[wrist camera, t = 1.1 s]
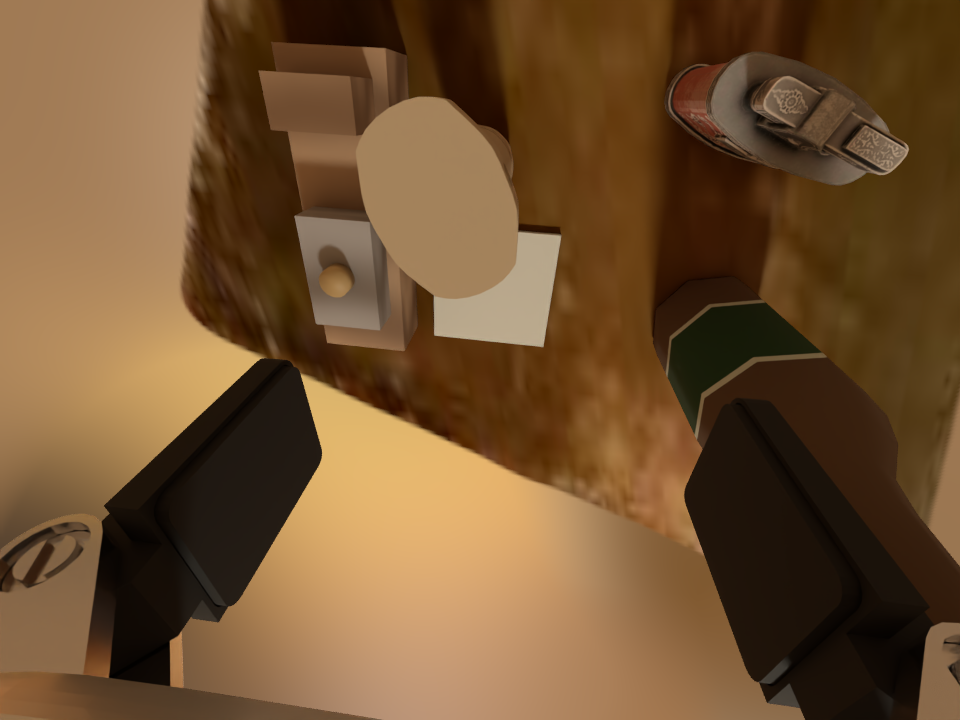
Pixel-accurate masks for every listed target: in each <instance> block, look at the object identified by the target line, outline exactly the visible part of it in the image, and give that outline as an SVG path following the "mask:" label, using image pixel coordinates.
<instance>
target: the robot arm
mask: <svg viewBox="0 0 960 720" xmlns="http://www.w3.org/2000/svg"><path fill="white" fill-rule="evenodd" d="M321 458H322V449H321V445H320V442H319V439H318V435H317V431H316V428H315V424H314V421H313V417H312V413H311V410H310V406H309V403H308V399H307V396H306V392H305V389H304V385H303V382H302V378H301V374H300V372H299V370H298V369H297V368H296V367H293V365H292V363H291V362H290V361H288V360H279V359H267V358H264V359H260V360H259V361H257V362H256V363H255V364H254V365H253V366H252V367H251V368H250V369H249V370H248V371H247V372H246V373H244V375H242V376H241V377H240V378H239V379H238V380H237V381H236V382H235V383H234V384H233V385H232V386H231V387H230V388H229V389H228V390H227V391H225V392H224V393H223V394H222V395H221V396H220V397H219V398H218V399H217V400H216V401H215V402H214V403H213V404H212V405H211V406H209V407H208V408H207V409H206V410H205V411H204V412H203V413H202V414H201V415H200V416H199V417H198V418H197V419H196V420H194V422H192V423H191V424H190V425H189V426H188V427H187V428H186V429H185V430H184V431H183V432H182V433H181V434H180V435H179V436H177V437H176V438H175V439H174V440H173V441H172V442H171V443H170V444H169V445H168V446H167V447H166V448H165V449H164V450H163V451H162V452H161V453H159V454H158V455H157V456H156V457H155V458H154V459H153V460H152V461H151V462H150V463H149V464H148V465H147V466H146V467H145V468H144V469H142V470H141V471H140V472H139V473H138V474H137V475H136V476H135V477H134V478H133V479H132V480H131V481H130V482H129V483H127V484H126V485H125V486H124V487H123V488H122V489H121V490H120V491H119V492H118V493H117V494H116V495H115V496H114V497H113V498H112V499H110V500H109V501H108V502H107V503H106V504H105V505H104V507H105V508H106V509H107V510H108V512H109V513H110V514H109V515H108V516H107V517H106V518H105V519H104V520H103V521H102V522H101V521H100V520H98V518H96V517H95V516H92V515H88V514H73V515H67V516H63V517H59V518H56V519H52V520H50V521H47V522H45V523H43V524H41V525H38V526H36V527H34V528H32V529H31V530H29V531H27V532H25V533H23V534H22V535H20V536H19V537H17V538H15V539H14V540H12V541H11V542H10V543H9V544H7V545H6V546H5V547H3V548H2V549H1V550H0V720H379V719H373V718H367V717H361V716H355V715H349V714H343V713H337V712H330V711H324V710H318V709H312V708H305V707H299V706H292V705H286V704H280V703H273V702H267V701H261V700H255V699H249V698H242V697H236V696H230V695H223V694H217V693H211V692H205V691H198V690H192V689H185V688H184V686H183V685H184V684H183V658H182V629H183V628H184V626H185V625H186V623H187V622H188V620H189V619H190V617H192V618H193V619H200V620H206V621H213V622H219V621H220V619H221V618H222V615H223V614H224V613H225V611H226V609H227V607H228V606H232V605H234V604H235V603H236V602H237V601H238V600H239V599H240V597H241V596H242V594H243V592H244V591H245V589H246V587H247V586H248V584H249V582H250V581H251V579H252V577H253V575H254V574H255V572H256V570H257V569H258V567H259V565H260V564H261V562H262V560H263V559H264V557H265V555H266V553H267V552H268V550H269V549H270V547H271V545H272V544H273V542H274V540H275V538H276V537H277V535H278V533H279V532H280V530H281V528H282V527H283V525H284V523H285V522H286V520H287V518H288V517H289V515H290V513H291V511H292V510H293V508H294V507H295V505H296V503H297V501H298V500H299V498H300V496H301V495H302V493H303V491H304V490H305V488H306V486H307V485H308V483H309V481H310V480H311V478H312V476H313V475H314V473H315V471H316V469H317V468H318V466H319V464H320V461H321ZM684 498H685V503H686V507H687V509H688V512H689V515H690V517H691V520H692V523H693V526H694V528H695V531H696V534H697V536H698V539H699V542H700V545H701V547H702V550H703V553H704V556H705V558H706V561H707V564H708V566H709V569H710V572H711V575H712V577H713V580H714V583H715V585H716V588H717V591H718V594H719V596H720V599H721V602H722V604H723V607H724V610H725V613H726V615H727V618H728V620H729V623H730V626H731V629H732V632H733V634H734V637H735V640H736V643H737V645H738V648H739V651H740V653H741V656H742V659H743V662H744V664H745V667H746V669H747V671H748V673H749V675H750V676H751V678H752V679H753V680H754V681H756V682H759V683H760V686H761V688H762V691H763V693H764V696H765V699H766V701H767V703H770V704H777V705H784V706H791V707H797V708H800V709H801V711H802V713H803V716H804V718H805V720H960V623H944V622H942V623H940V624H937V625H934V624H933V622H932V621H931V620H930V618H929V617H928V616H927V614H926V613H925V611H926V610H927V609H928V608H930V606H929V605H928V603H927V602H926V601H925V600H924V598H923V597H922V596H921V594H920V593H919V592H918V591H917V589H916V588H915V587H914V585H913V584H912V583H911V582H910V580H909V579H908V578H907V576H906V575H905V574H904V572H903V571H902V570H901V569H900V567H899V566H898V565H897V563H896V562H895V561H894V560H893V558H892V557H891V556H890V554H889V553H888V552H887V551H886V549H885V548H884V547H883V545H882V544H881V543H880V541H879V540H878V539H877V538H876V536H875V535H874V534H873V532H872V531H871V530H870V529H869V527H868V526H867V525H866V523H865V522H864V521H863V520H862V518H861V517H860V516H859V514H858V513H857V512H856V511H855V509H854V508H853V507H852V505H851V504H850V503H849V501H848V500H847V499H846V498H845V496H844V495H843V494H842V492H841V491H840V490H839V489H838V487H837V486H836V485H835V483H834V482H833V481H832V480H831V478H830V477H829V476H828V474H827V473H826V472H825V470H824V469H823V468H822V467H821V465H820V464H819V463H818V461H817V460H816V459H815V458H814V456H813V455H812V454H811V452H810V451H809V450H808V449H807V447H806V446H805V445H804V443H803V442H802V441H801V440H800V438H799V437H798V436H797V434H796V433H795V432H794V430H793V429H792V428H791V427H790V425H789V424H788V423H787V421H786V420H785V419H784V418H783V416H782V415H781V414H780V412H779V411H778V410H777V409H776V407H775V406H774V405H773V404H772V403H771V402H770V401H768V400H761V399H749V398H735V399H734V400H733V401H732V402H731V403H730V404H725V405H724V406H723V407H722V408H721V410H720V412H719V415H718V417H717V419H716V421H715V424H714V426H713V428H712V430H711V432H710V435H709V437H708V439H707V441H706V443H705V446H704V448H703V450H702V452H701V454H700V457H699V459H698V461H697V463H696V465H695V468H694V470H693V472H692V474H691V476H690V479H689V481H688V483H687V485H686V488H685V493H684Z"/></svg>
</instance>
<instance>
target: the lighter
mask: <svg viewBox="0 0 960 720" xmlns="http://www.w3.org/2000/svg"><path fill="white" fill-rule="evenodd" d="M665 109H666V111H667V113H668V114H669V116H670V117H672V118H673V119H674V120H675V121H676V122H677V123H678V124H679V125H680V126H681V127H682V128H683V129H685V130H686V131H687V132H688V133H689V134H691V135H692V136H694V137H695V138H697V139H698V140H700V141H701V142H703V143H704V144H706V145H707V146H709V147H711V148H714V149H716V150H718V151H721V152H723V153H725V154H728V155H730V156H732V157H735V158H739V159H743V160H747V161H750V162H754V163H758V164H762V165H764V166H767V167H771V168H774V169H781V170H783V171H786V172H788V173H790V174H793V175H797V176H800V177H804V178H808V179H812V180H815V181H819V182H823V183H827V184H831V185H843V184H847V183H850V182H853V181H854V180H856V179H858V178H860V177H861V176H863V175H864V174H866V173H867V172H869V173H874V174H878V175H884V174H887V173H889V172H891V171H892V170H893V169H895V168H896V167H897V166H898V165H899V164H900V163H901V162H902V160H903V159H904V158H905V157H906V155H907V153H908V150H909V149H908V145H907V144H906V143H904V142H903V141H901V140H900V139H898V138H896V137H894V136H893V135H891V134H889V130H888V128H887V126H886V124H885V123H884V121H883V120H882V119H881V118H880V117H879V116H878V115H877V114H876V113H875V112H874V110H873V109H872V108H871V107H870V106H869V105H868V104H867V103H866V102H865V100H864V99H862V98H861V97H860V96H858V95H857V94H856V93H854V92H853V91H852V90H850V89H849V88H848V87H846V86H845V85H844V84H842V83H841V82H840V81H838V80H837V79H836V78H834V77H832V76H830V75H828V74H826V73H823V72H821V71H819V70H817V69H815V68H812V67H810V66H808V65H806V64H804V63H802V62H799V61H795V60H792V59H788V58H784V57H780V56H777V55H773V54H769V53H766V52H750V53H745V54H743V55H740V56H738V57H735V58H733V59H732V60H731V61H729V62H728V63H722V64H717V65H712V66H711V65H707V64H695V65H691V66H689V67H686V68H684V69H683V70H682V71H680V72H679V73H678V74H677V75H676V76H675V77H674V79H673V80H672V81H671V83H670V85H669V87H668V89H667V91H666V96H665Z"/></svg>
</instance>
